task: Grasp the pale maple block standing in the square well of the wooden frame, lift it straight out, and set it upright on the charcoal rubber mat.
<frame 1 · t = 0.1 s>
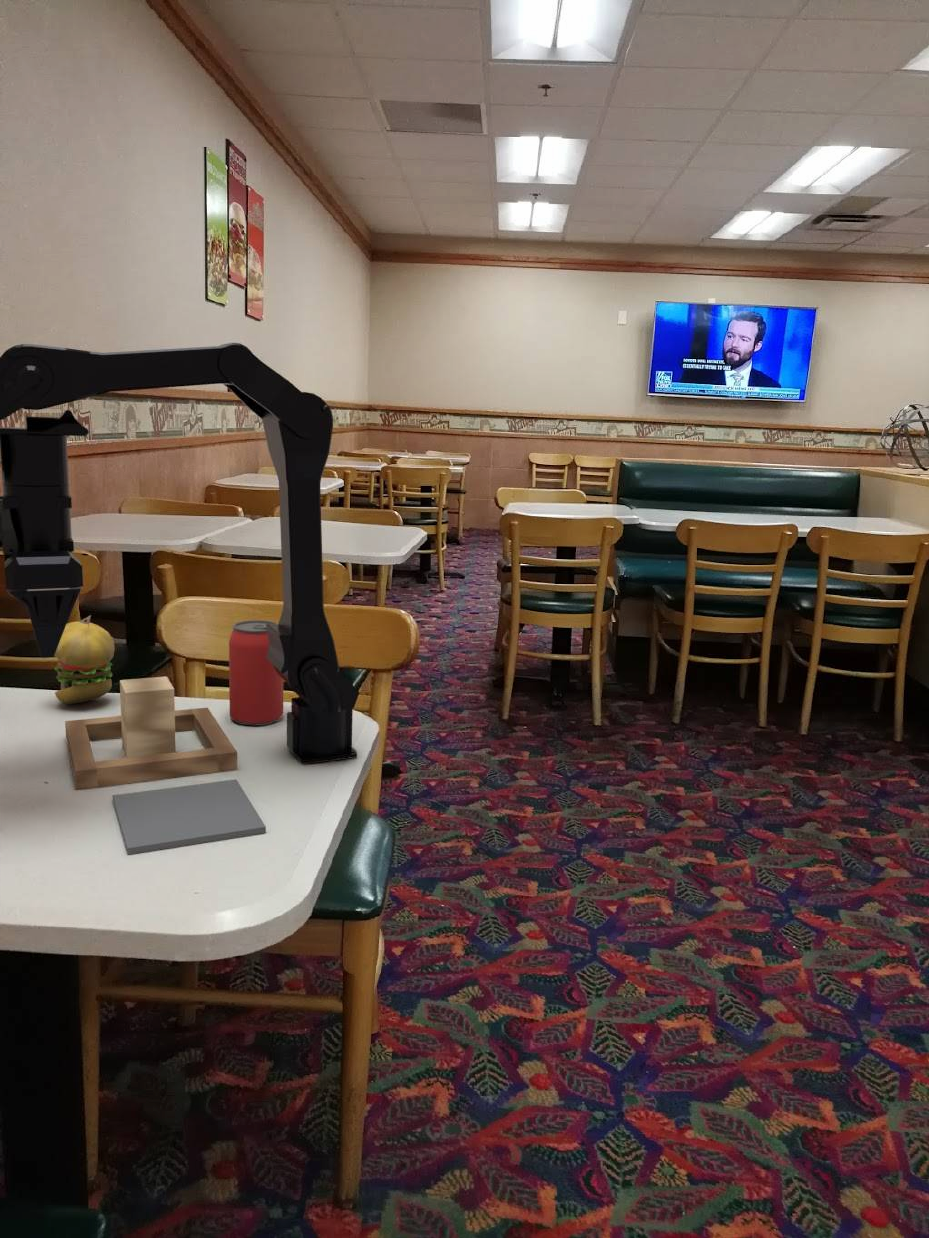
hand: (45, 645, 90), 15 cm above the table, fingers open, 9 cm apart
beer can: (256, 719, 116), on the table
maple block: (147, 719, 102), in the wooden frame
hamburger: (85, 706, 118), on the table
wooden frame: (148, 753, 103), on the table
rubber mat: (186, 816, 88), on the table
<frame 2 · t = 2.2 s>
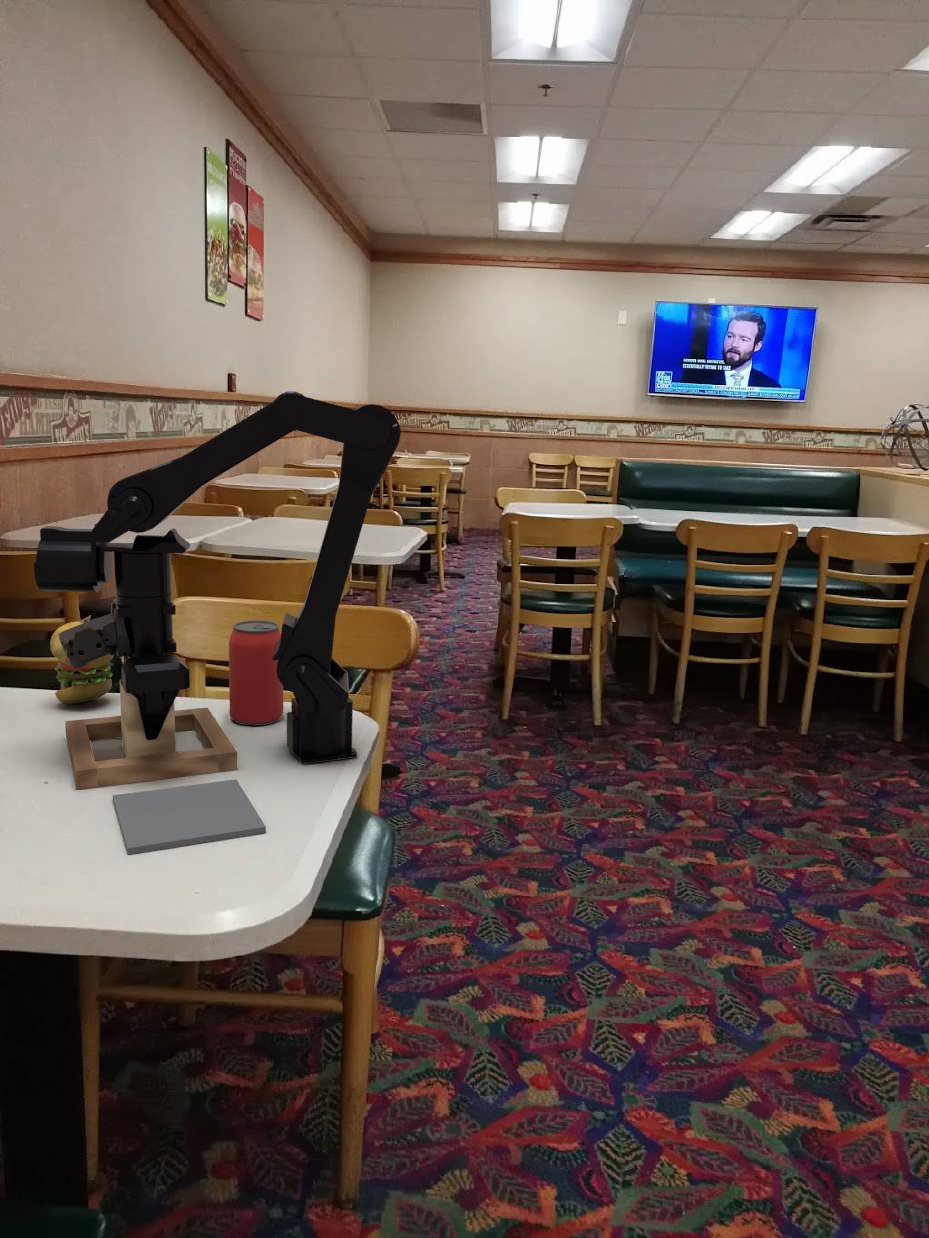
hand: (148, 731, 103), 3 cm above the table, fingers closed on maple block, 5 cm apart
maple block: (147, 719, 102), in the wooden frame, touching gripper
everything else where it was.
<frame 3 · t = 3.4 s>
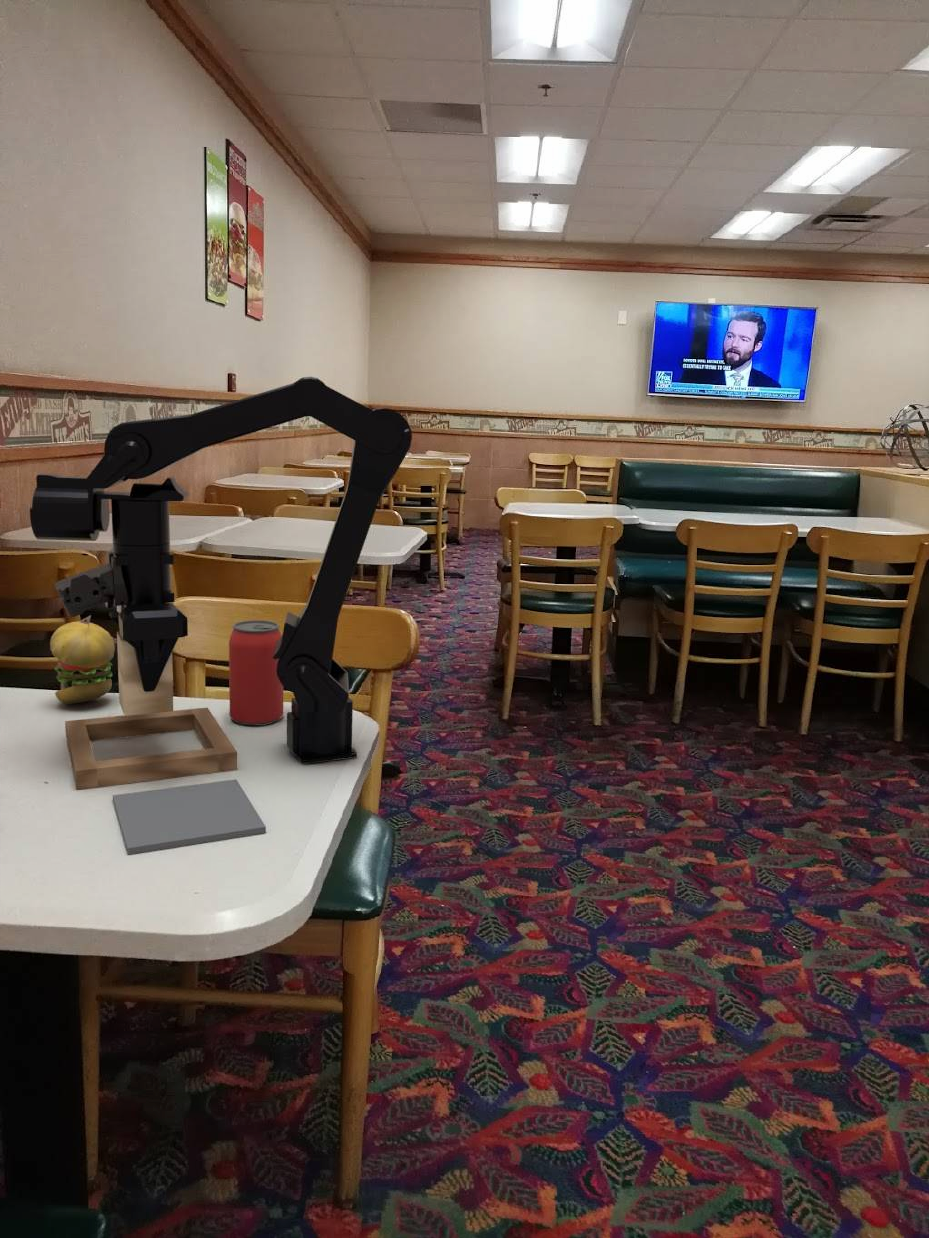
hand: (145, 684, 101), 8 cm above the table, fingers closed on maple block, 5 cm apart
maple block: (145, 671, 101), point 9 cm above the table, touching gripper
everything else where it was.
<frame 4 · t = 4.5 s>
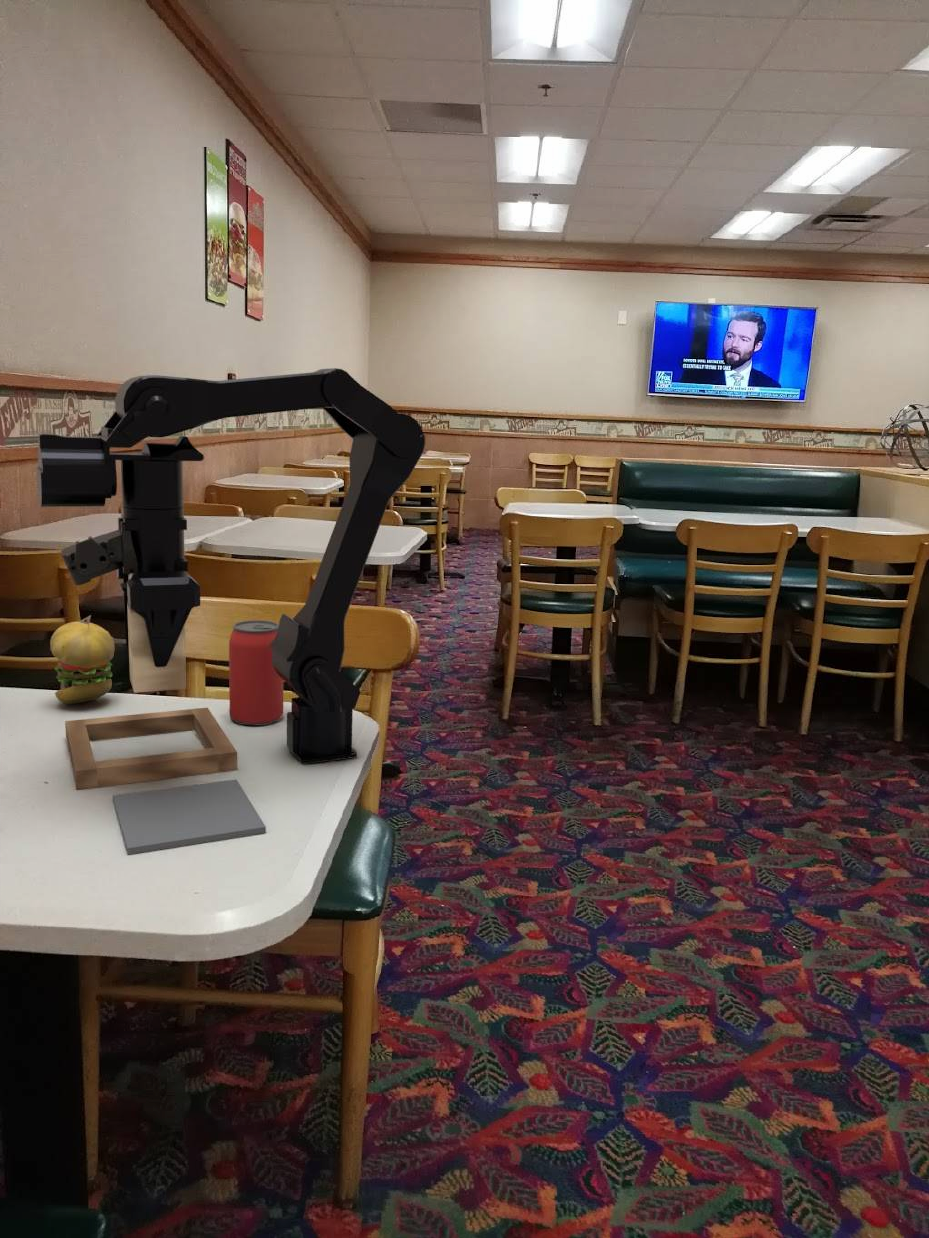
hand: (157, 659, 95), 12 cm above the table, fingers closed on maple block, 5 cm apart
maple block: (156, 645, 94), point 14 cm above the table, touching gripper
everything else where it was.
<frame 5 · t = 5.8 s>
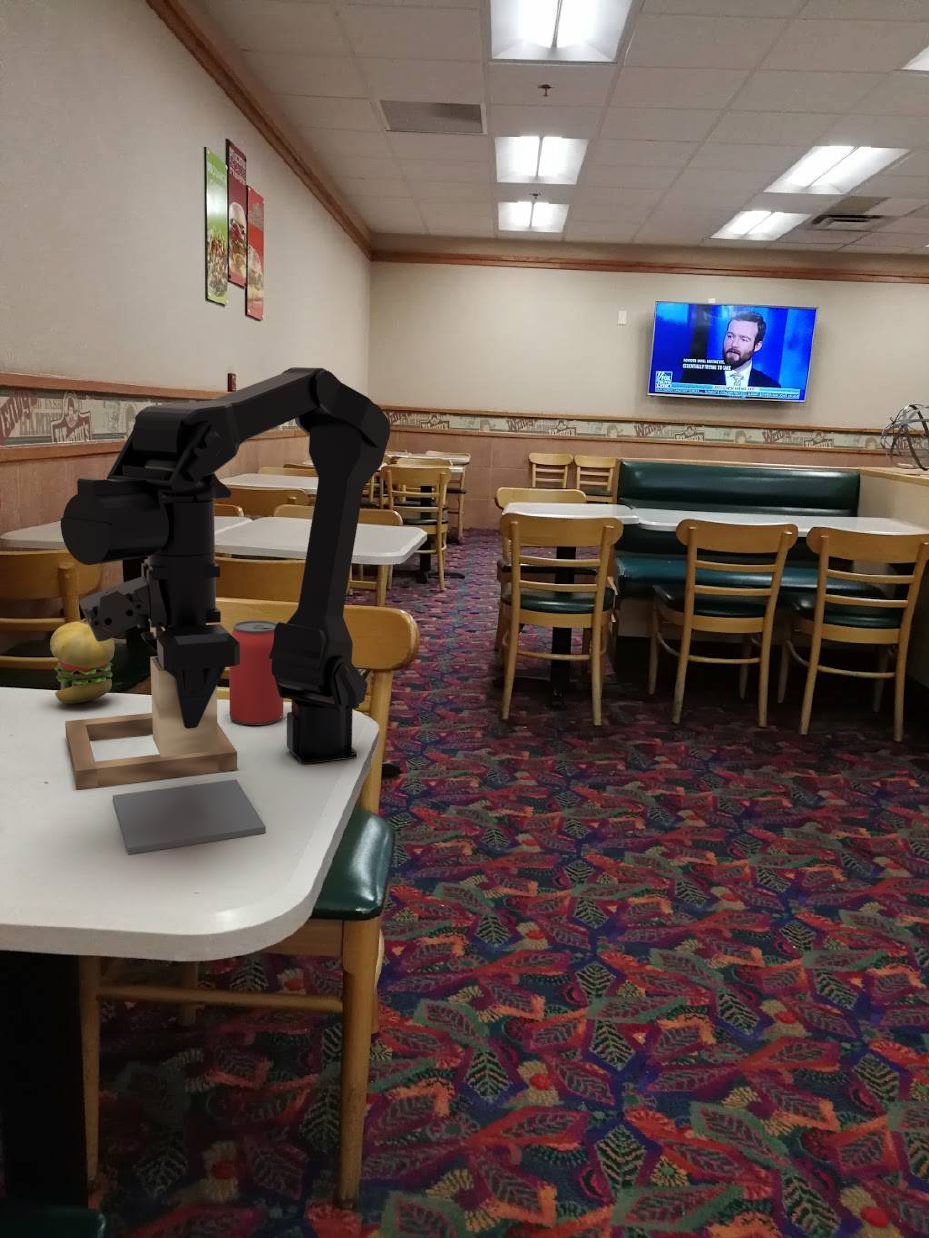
hand: (185, 718, 86), 10 cm above the table, fingers closed on maple block, 5 cm apart
maple block: (184, 703, 85), point 11 cm above the table, touching gripper
everything else where it was.
when the fingers open (5 cm above the table, at t = 7.0 s): maple block drops 2 cm, resting on rubber mat.
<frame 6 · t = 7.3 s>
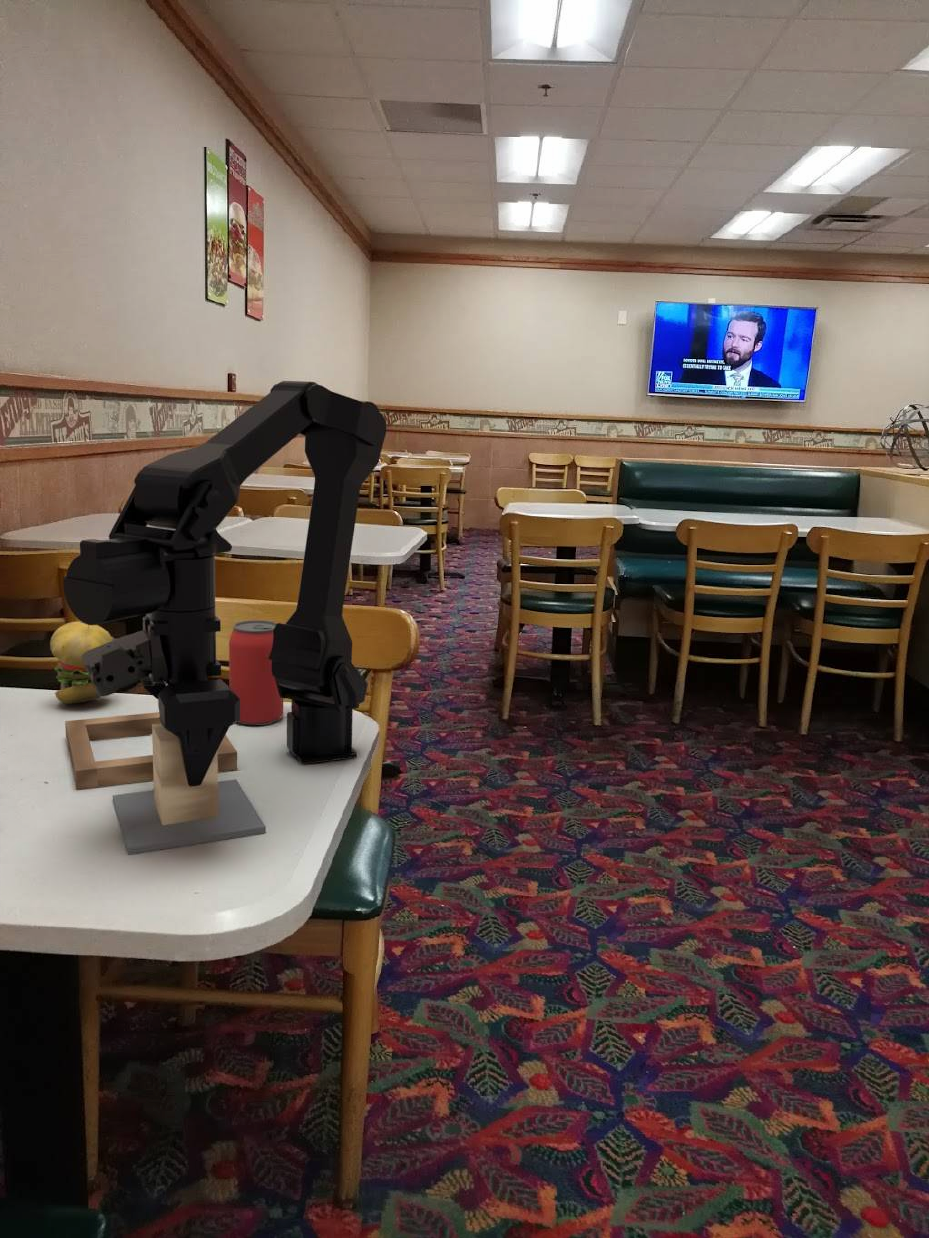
hand: (186, 768, 87), 5 cm above the table, fingers open, 8 cm apart
maple block: (185, 770, 87), on the rubber mat, point 5 cm above the table
everything else where it was.
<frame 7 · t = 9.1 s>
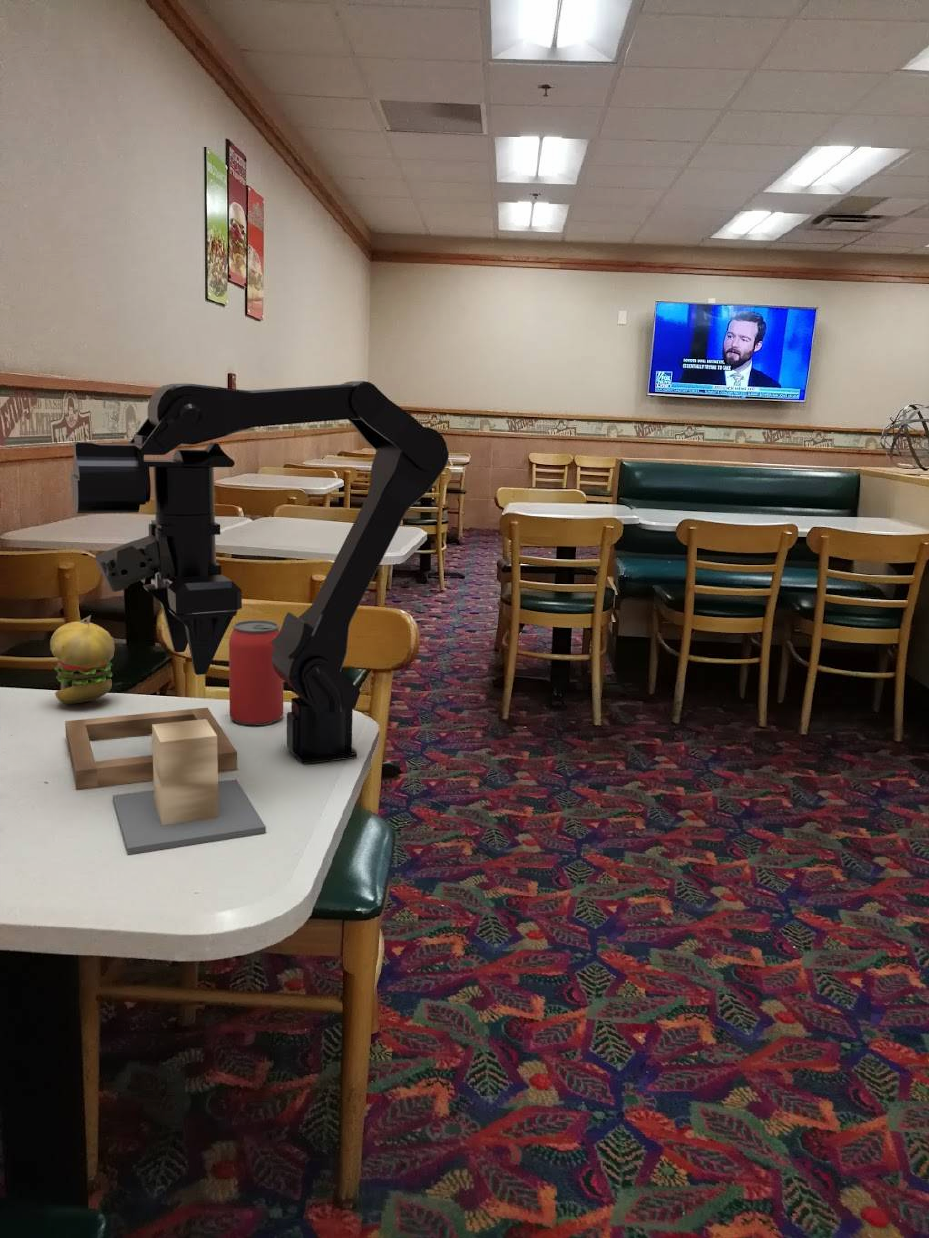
hand: (189, 662, 96), 12 cm above the table, fingers open, 9 cm apart
nothing on the table moved.
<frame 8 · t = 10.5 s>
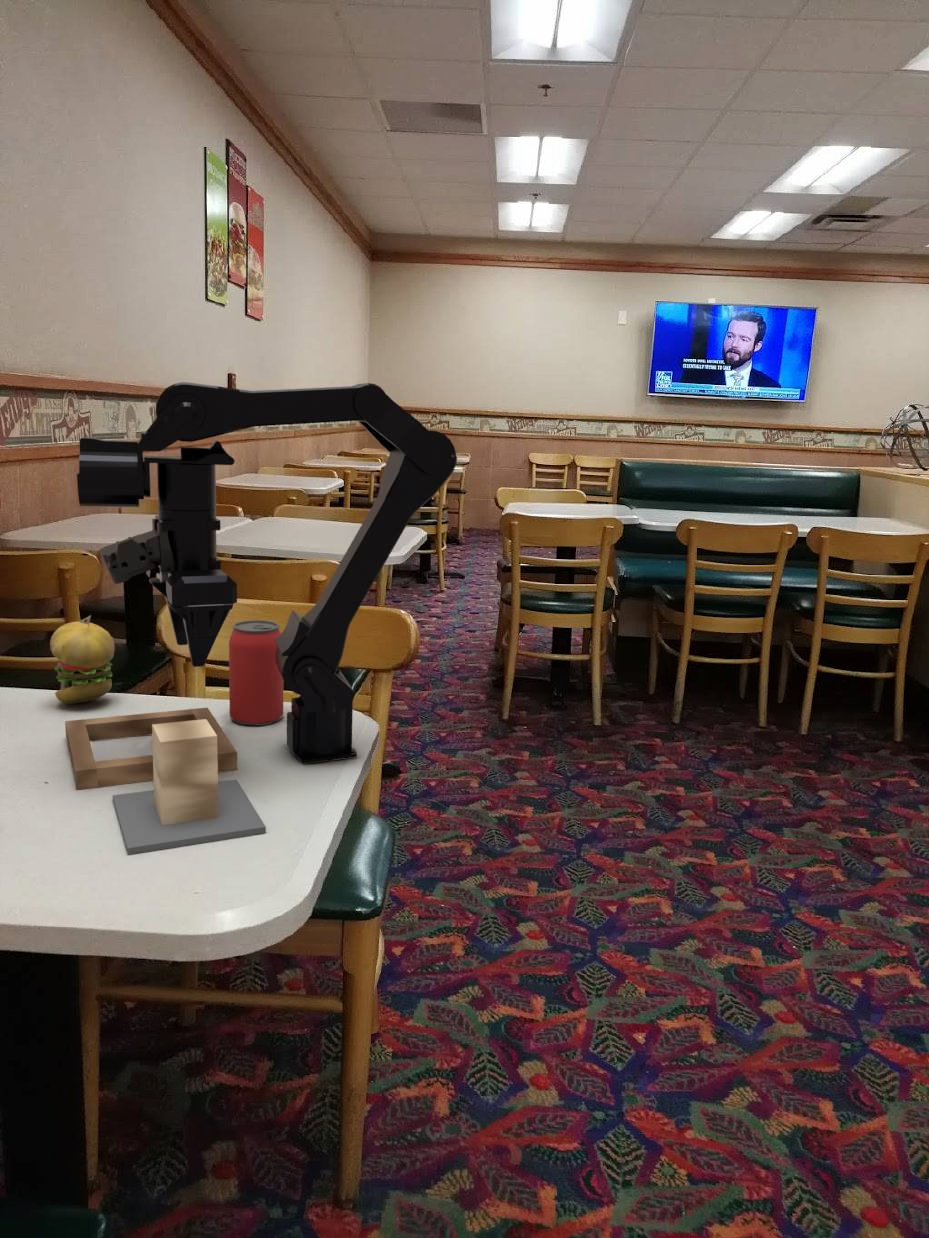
hand: (189, 654, 99), 12 cm above the table, fingers open, 9 cm apart
nothing on the table moved.
at the end: maple block inside the target area on the rubber mat (0.1 cm from its centre), point 4.6 cm above the rubber mat's base; maple block tilted 0°; the gripper is holding nothing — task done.
